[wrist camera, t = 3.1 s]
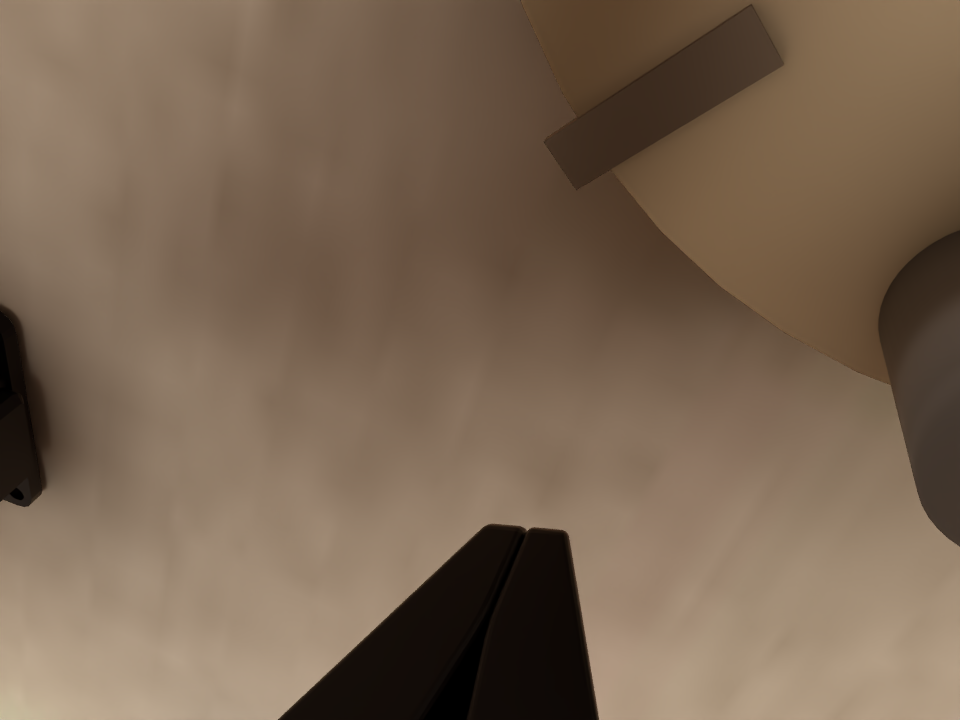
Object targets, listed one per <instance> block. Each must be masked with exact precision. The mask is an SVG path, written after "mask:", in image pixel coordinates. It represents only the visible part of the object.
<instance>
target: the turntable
mask: <svg viewBox="0 0 960 720" xmlns="http://www.w3.org/2000/svg"><path fill="white" fill-rule="evenodd" d="M521 3H522V6H523V8H524V10H525V12H526V15H527V17H528V19H529V21H530V23H531V26H532V28H533V30H534V32H535V34H536V37H537V39H538V41H539V43H540V45H541V47H542V50H543V52H544V54H545V56H546V58H547V61H548V63H549V65H550V67H551V69H552V72H553V74H554V76H555V78H556V80H557V83H558V85H559V87H560V89H561V91H562V93H563V95H564V96H565V98H566V100H567V101H568V103H569V104H570V106H571V108H572V109H573V111H574V113H575V114H576V116H577V118H575V119H574V120H572V121H571V122H569V123H568V124H566V125H565V126H563V127H562V128H560V129H559V130H557V131H556V132H554V133H553V134H551V135H550V136H548V137H547V138H546V139H545V141H544V143H545V145H546V146H547V148H548V149H549V151H550V152H551V154H552V155H553V157H554V158H555V160H556V161H557V162H558V164H559V165H560V167H561V168H562V170H563V171H564V173H565V174H566V176H567V177H568V179H569V180H570V182H571V183H572V185H573V186H574V188H575V189H576V190H577V189H579V188H581V187H582V186H584V185H586V184H587V183H589V182H591V181H592V180H594V179H596V178H597V177H599V176H601V175H602V174H604V173H606V172H607V171H609V170H611V171H612V172H613V173H614V175H615V176H616V177H617V178H618V179H619V181H620V182H621V183H622V184H623V186H624V187H625V188H626V189H627V190H628V192H629V193H630V194H631V195H632V197H633V198H634V199H635V200H636V201H637V203H638V204H639V205H640V206H641V208H642V209H643V210H644V211H645V212H646V214H647V215H648V216H649V217H650V218H651V220H652V221H653V222H654V223H655V225H656V226H657V227H658V228H659V229H660V231H661V232H662V233H663V234H664V235H666V236H667V237H668V238H669V239H670V240H671V241H672V242H673V243H674V244H675V245H676V246H677V247H678V248H679V249H680V250H682V251H683V252H684V253H685V254H686V255H687V256H688V257H689V258H690V259H691V260H692V261H693V262H694V263H695V264H697V265H698V266H699V267H700V268H701V269H702V270H703V271H704V272H705V273H706V274H707V275H708V276H709V277H710V278H711V279H713V280H714V281H715V282H716V283H717V284H718V285H719V286H720V287H722V288H723V289H724V290H726V291H727V292H729V293H730V294H731V295H733V296H734V297H736V298H737V299H738V300H740V301H741V302H742V303H744V304H745V305H747V306H748V307H749V308H751V309H752V310H754V311H755V312H756V313H758V314H759V315H761V316H762V317H763V318H765V319H766V320H768V321H769V322H770V323H772V324H773V325H775V326H776V327H777V328H779V329H780V330H782V331H783V332H784V333H786V334H788V335H790V336H792V337H794V338H795V339H797V340H799V341H801V342H803V343H805V344H806V345H808V346H810V347H812V348H814V349H816V350H818V351H819V352H821V353H823V354H825V355H827V356H829V357H830V358H832V359H834V360H836V361H838V362H840V363H842V364H843V365H845V366H847V367H849V368H851V369H853V370H854V371H856V372H859V373H861V374H864V375H867V376H869V377H872V378H874V379H877V380H879V381H882V382H884V383H887V384H889V385H891V387H892V391H893V395H894V399H895V403H896V407H897V411H898V415H899V419H900V423H901V428H902V432H903V436H904V440H905V444H906V448H907V452H908V456H909V460H910V464H911V468H912V472H913V476H914V480H915V484H916V488H917V492H918V495H919V498H920V501H921V504H922V506H923V508H924V510H925V512H926V514H927V515H928V517H929V518H930V520H931V521H932V522H933V523H934V525H935V526H936V527H937V528H938V529H939V530H940V531H941V532H942V533H943V534H944V535H945V536H946V537H947V538H948V539H950V540H951V541H953V542H954V543H956V544H957V545H958V546H960V0H521Z"/></svg>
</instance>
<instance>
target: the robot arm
mask: <svg viewBox="0 0 960 720" xmlns="http://www.w3.org/2000/svg"><path fill="white" fill-rule="evenodd" d="M41 494H42V487H41V481H40V475H39V469H38V463H37V457H36V451H35V445H34V438H33V432H32V426H31V420H30V414H29V408H28V402H27V396H26V390H25V383H24V377H23V371H22V365H21V359H20V353H19V347H18V341H17V334H16V331H15V328H14V325H13V324H12V322H11V321H10V320H9V318H8V317H7V316H5V315H4V314H3V313H2V312H0V502H1V501H2V500H6V501H8V502H11V503H13V504H16V505H19V506H23V507H26V506H29V505H30V504H31V503H32V502H33V501H35V500H36V499H37V498H38V497H39V496H40V495H41ZM278 720H599V716H598V710H597V704H596V698H595V691H594V685H593V679H592V673H591V667H590V661H589V655H588V649H587V643H586V637H585V631H584V625H583V619H582V612H581V606H580V600H579V594H578V588H577V582H576V576H575V570H574V564H573V558H572V552H571V546H570V540H569V535H568V533H567V532H566V531H564V530H557V529H546V528H535V527H534V528H531V529H529V530H528V531H527V530H526V529H525V528H523V527H521V526H513V525H501V524H489V525H487V526H485V527H483V528H482V529H481V530H480V531H479V532H477V533H476V534H475V535H474V536H473V537H472V538H471V539H470V540H469V541H468V542H467V543H466V544H465V545H464V546H463V547H461V548H460V549H459V550H458V551H457V552H456V553H455V554H454V555H453V556H452V557H451V558H450V559H449V560H448V561H447V562H445V563H444V564H443V565H442V566H441V567H440V568H439V569H438V570H437V571H436V572H435V573H434V574H433V575H432V576H431V577H429V578H428V579H427V580H426V581H425V582H424V583H423V584H422V585H421V586H420V587H419V588H418V589H417V590H416V591H415V592H413V593H412V594H411V595H410V596H409V597H408V598H407V599H406V600H405V601H404V602H403V603H402V604H401V605H400V606H399V607H397V608H396V609H395V610H394V611H393V612H392V613H391V614H390V615H389V616H388V617H387V618H386V619H385V620H384V621H383V622H381V623H380V624H379V625H378V626H377V627H376V628H375V629H374V630H373V631H372V632H371V633H370V634H369V635H368V636H367V637H365V638H364V639H363V640H362V641H361V642H360V643H359V644H358V645H357V646H356V647H355V648H354V649H353V650H352V651H351V652H349V653H348V654H347V655H346V656H345V657H344V658H343V659H342V660H341V661H340V662H339V663H338V664H337V665H336V666H335V667H333V668H332V669H331V670H330V671H329V672H328V673H327V674H326V675H325V676H324V677H323V678H322V679H321V680H320V681H319V682H317V683H316V684H315V685H314V686H313V687H312V688H311V689H310V690H309V691H308V692H307V693H306V694H305V695H304V696H303V697H301V698H300V699H299V700H298V701H297V702H296V703H295V704H294V705H293V706H292V707H291V708H290V709H289V710H288V711H287V712H285V713H284V714H283V715H282V716H281V717H280V718H279V719H278Z"/></svg>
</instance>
